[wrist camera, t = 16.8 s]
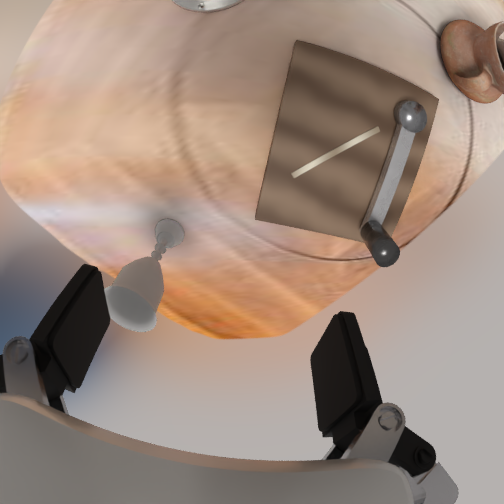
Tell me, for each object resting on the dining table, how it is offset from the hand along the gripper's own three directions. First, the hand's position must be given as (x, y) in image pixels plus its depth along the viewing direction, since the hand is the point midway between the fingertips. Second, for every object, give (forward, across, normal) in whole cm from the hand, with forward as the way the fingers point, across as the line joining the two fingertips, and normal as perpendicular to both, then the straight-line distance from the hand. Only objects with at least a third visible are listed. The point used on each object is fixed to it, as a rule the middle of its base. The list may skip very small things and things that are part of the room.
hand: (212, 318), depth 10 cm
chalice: (+31, +10, +15) cm, 35 cm away
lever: (+28, -20, -3) cm, 34 cm away
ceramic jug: (+31, -30, -27) cm, 51 cm away
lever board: (+30, -14, -4) cm, 34 cm away
